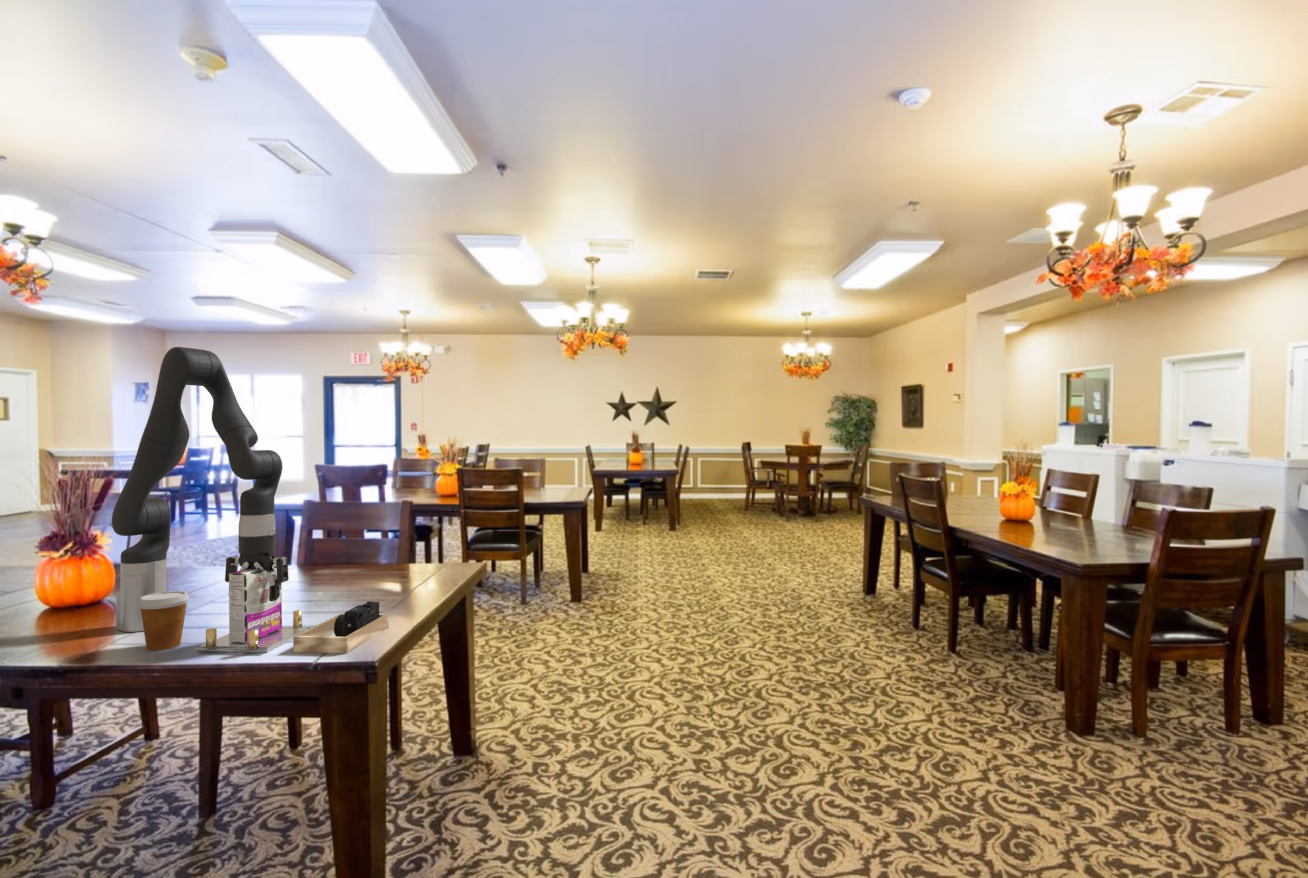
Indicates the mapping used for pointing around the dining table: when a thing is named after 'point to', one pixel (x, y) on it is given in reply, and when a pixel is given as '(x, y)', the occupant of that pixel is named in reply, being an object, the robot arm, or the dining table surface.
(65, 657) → the dining table surface
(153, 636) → the disposable coffee cup
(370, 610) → the camera
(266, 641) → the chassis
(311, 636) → the oak frame
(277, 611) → the candy bar box
